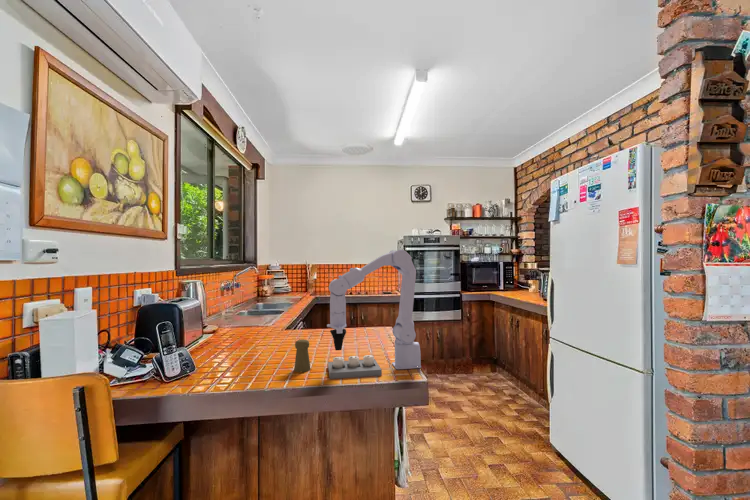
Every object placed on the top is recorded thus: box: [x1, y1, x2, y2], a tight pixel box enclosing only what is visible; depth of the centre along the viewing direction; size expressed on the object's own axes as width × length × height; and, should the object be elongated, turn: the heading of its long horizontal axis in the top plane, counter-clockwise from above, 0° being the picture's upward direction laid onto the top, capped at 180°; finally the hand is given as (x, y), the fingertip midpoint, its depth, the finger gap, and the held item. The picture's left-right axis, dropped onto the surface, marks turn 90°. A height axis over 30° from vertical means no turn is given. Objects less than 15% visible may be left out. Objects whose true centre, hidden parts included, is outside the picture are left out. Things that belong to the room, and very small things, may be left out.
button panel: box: [327, 358, 383, 380], centre depth 134 cm, size 18×14×2 cm
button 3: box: [332, 356, 345, 368], centre depth 133 cm, size 4×4×3 cm
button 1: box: [362, 354, 375, 366], centre depth 135 cm, size 4×4×3 cm
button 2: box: [347, 355, 360, 367], centre depth 134 cm, size 4×4×3 cm
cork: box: [293, 338, 312, 373], centre depth 137 cm, size 6×6×11 cm
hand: (338, 349), depth 133 cm, fingers closed
